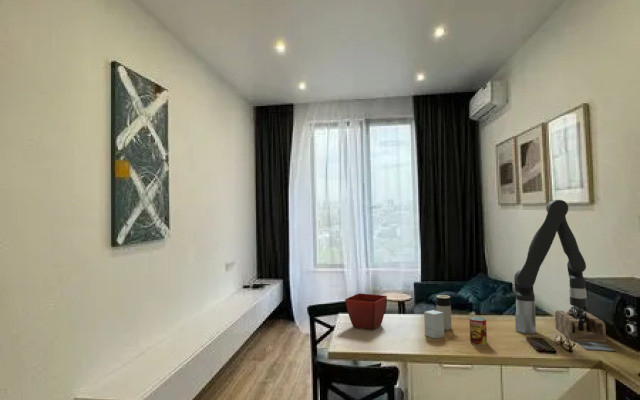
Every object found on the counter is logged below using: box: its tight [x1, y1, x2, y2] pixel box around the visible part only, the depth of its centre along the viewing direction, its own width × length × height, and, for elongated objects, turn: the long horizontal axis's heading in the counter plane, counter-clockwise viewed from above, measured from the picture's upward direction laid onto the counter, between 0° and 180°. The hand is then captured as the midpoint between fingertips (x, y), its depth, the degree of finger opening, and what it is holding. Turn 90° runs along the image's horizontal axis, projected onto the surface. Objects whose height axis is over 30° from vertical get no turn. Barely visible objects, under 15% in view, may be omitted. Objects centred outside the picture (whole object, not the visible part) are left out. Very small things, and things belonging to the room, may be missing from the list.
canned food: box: [468, 315, 488, 346], centre depth 195 cm, size 8×8×12 cm
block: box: [572, 319, 586, 331], centre depth 203 cm, size 4×5×5 cm
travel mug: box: [435, 294, 452, 331], centre depth 220 cm, size 8×8×18 cm
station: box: [554, 310, 616, 353], centre depth 197 cm, size 34×16×10 cm, turn 166°
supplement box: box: [423, 309, 445, 339], centre depth 207 cm, size 7×7×13 cm
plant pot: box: [344, 293, 388, 331], centre depth 226 cm, size 19×19×17 cm
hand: (579, 328), depth 203 cm, fingers closed on block, 4 cm apart
